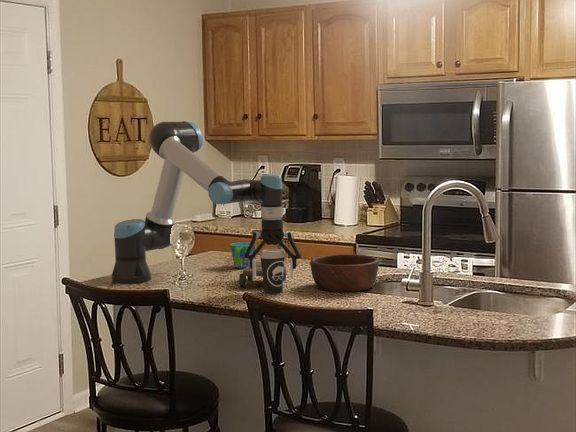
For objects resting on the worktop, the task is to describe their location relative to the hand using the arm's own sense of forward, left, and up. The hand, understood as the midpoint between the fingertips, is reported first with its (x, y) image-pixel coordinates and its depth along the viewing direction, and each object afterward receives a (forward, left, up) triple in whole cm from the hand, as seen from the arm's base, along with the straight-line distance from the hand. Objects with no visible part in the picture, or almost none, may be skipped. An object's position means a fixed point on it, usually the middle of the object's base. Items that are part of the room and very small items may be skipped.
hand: (273, 277), depth 275 cm
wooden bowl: (+24, +12, -6) cm, 28 cm away
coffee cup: (0, 0, -5) cm, 5 cm away
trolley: (-6, +16, -5) cm, 18 cm away
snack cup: (-22, +48, -5) cm, 53 cm away
